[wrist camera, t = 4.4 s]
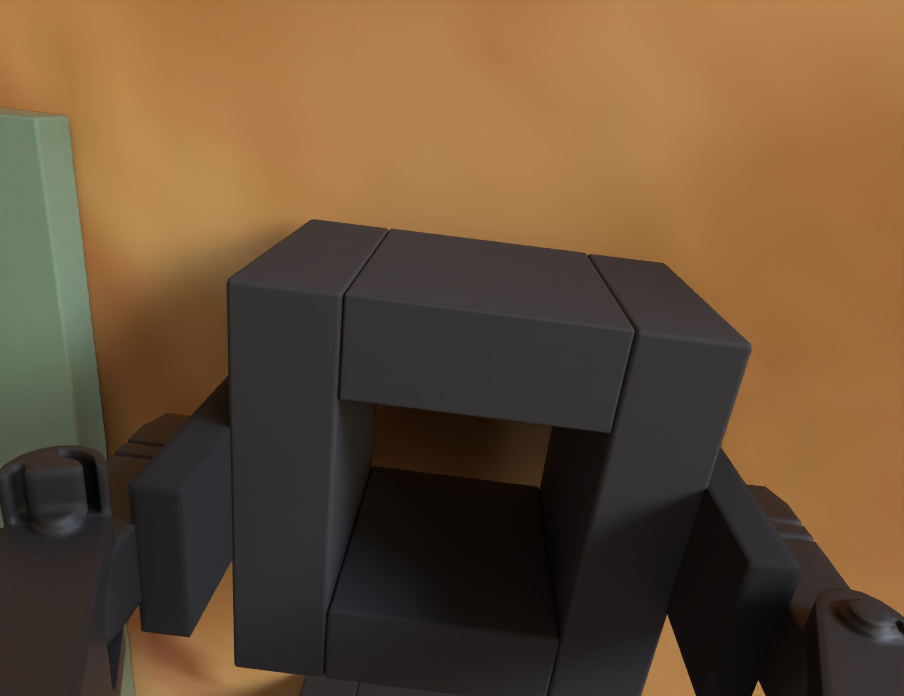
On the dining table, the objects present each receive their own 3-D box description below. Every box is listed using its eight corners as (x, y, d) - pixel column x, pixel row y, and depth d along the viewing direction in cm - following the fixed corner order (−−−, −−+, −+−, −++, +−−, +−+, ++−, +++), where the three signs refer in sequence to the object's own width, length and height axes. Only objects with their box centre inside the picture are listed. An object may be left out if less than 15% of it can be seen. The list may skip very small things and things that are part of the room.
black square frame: (594, 549, 17) (635, 719, 12) (301, 512, 17) (232, 668, 12) (666, 262, 14) (755, 345, 9) (310, 218, 14) (223, 278, 9)
